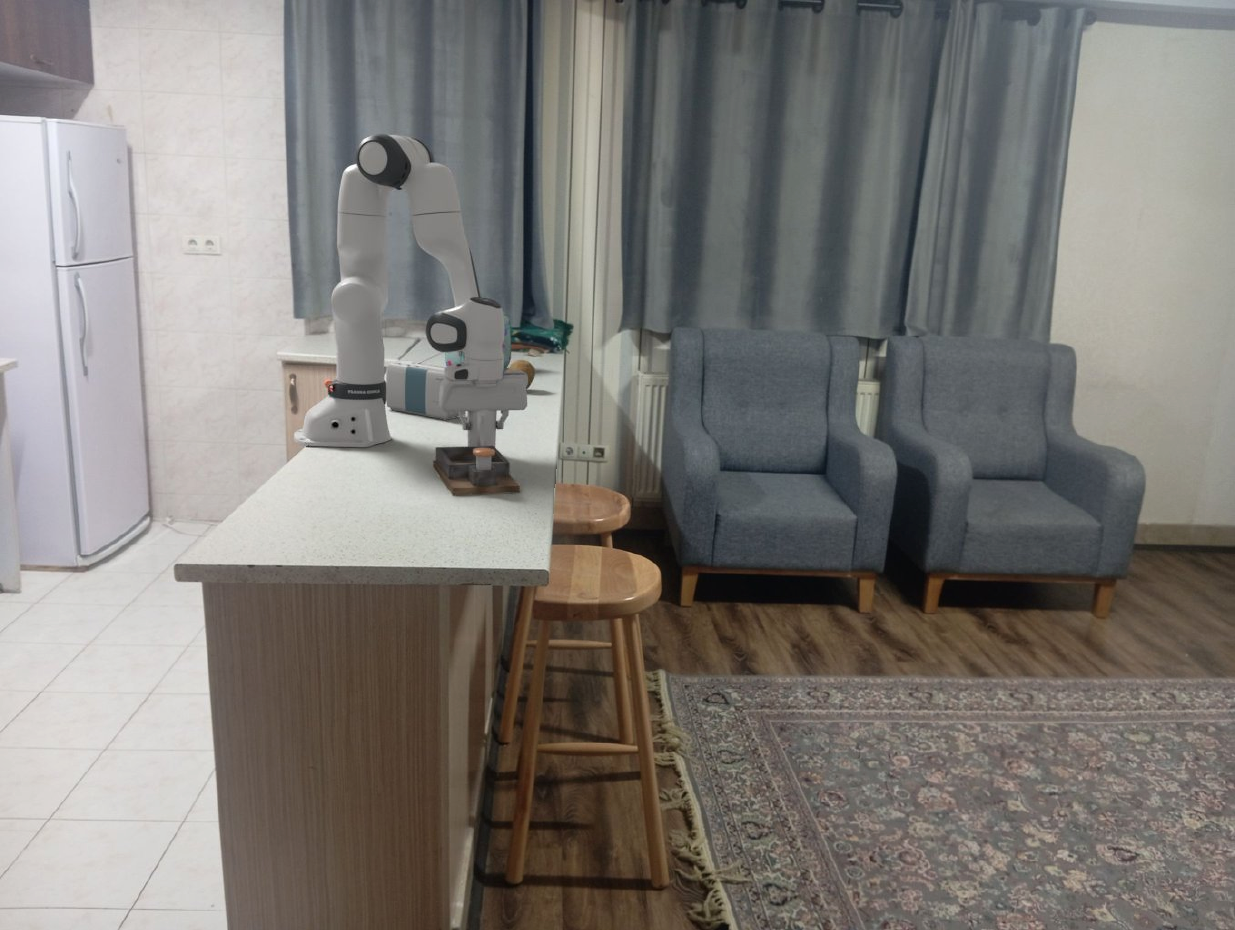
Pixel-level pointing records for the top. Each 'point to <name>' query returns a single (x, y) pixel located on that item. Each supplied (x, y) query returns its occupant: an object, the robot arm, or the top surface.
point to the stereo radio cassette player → (416, 388)
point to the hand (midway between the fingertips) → (482, 429)
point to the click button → (483, 458)
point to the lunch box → (506, 347)
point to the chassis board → (473, 472)
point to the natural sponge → (524, 369)
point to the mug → (482, 428)
